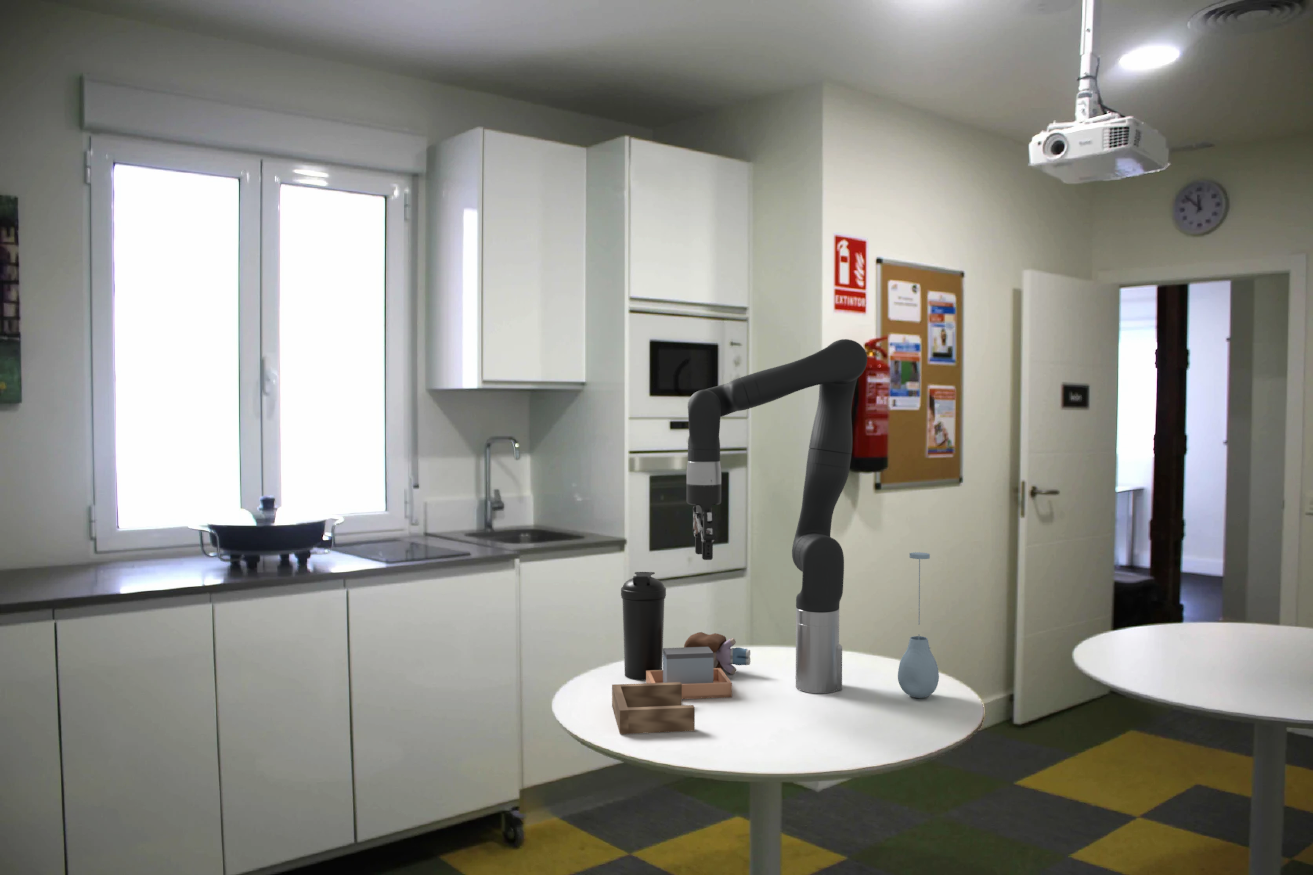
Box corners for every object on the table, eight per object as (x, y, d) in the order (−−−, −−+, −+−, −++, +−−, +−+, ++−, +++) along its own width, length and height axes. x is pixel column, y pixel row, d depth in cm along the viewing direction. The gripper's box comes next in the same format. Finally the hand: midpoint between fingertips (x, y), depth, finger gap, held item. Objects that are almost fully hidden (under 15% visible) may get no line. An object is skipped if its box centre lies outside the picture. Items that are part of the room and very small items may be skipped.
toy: (746, 679, 216) (681, 675, 220) (753, 670, 224) (691, 666, 228) (745, 640, 216) (680, 637, 220) (753, 632, 224) (690, 629, 228)
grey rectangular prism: (708, 683, 211) (708, 646, 211) (713, 690, 206) (713, 652, 205) (662, 684, 210) (662, 648, 209) (666, 692, 204) (666, 654, 204)
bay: (680, 703, 198) (680, 682, 198) (694, 730, 181) (694, 707, 181) (612, 706, 197) (612, 684, 196) (619, 734, 179) (619, 710, 179)
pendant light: (915, 704, 198) (916, 557, 197) (889, 693, 205) (890, 552, 205) (946, 699, 201) (948, 555, 200) (920, 689, 209) (921, 550, 208)
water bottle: (667, 669, 224) (667, 570, 224) (663, 681, 214) (663, 577, 214) (624, 668, 225) (624, 569, 225) (618, 680, 215) (618, 577, 215)
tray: (720, 681, 215) (720, 667, 215) (731, 697, 203) (731, 683, 203) (646, 684, 212) (646, 670, 212) (652, 700, 200) (652, 685, 200)
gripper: (727, 484, 204) (727, 561, 204) (714, 479, 218) (714, 551, 218) (692, 484, 203) (692, 562, 203) (681, 480, 217) (681, 552, 217)
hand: (703, 556), depth 211 cm, fingers open, 8 cm apart
